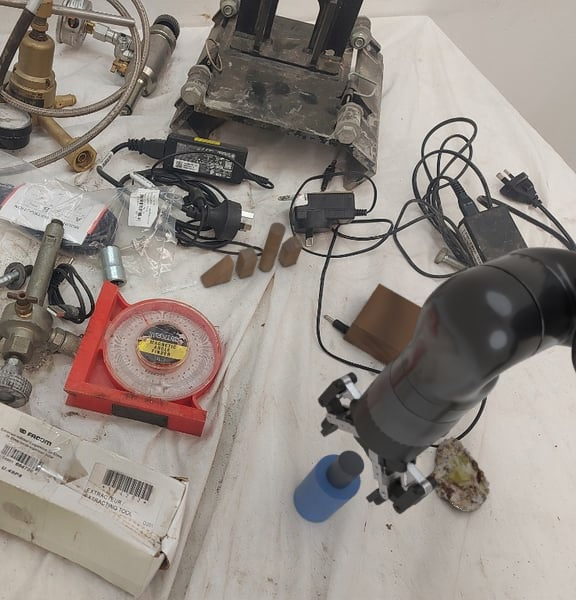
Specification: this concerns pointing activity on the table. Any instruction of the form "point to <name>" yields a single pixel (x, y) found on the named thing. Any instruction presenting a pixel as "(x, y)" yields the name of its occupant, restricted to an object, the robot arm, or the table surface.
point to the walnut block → (384, 325)
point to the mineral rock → (459, 476)
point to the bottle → (329, 486)
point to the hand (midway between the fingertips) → (350, 463)
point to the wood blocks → (254, 258)
